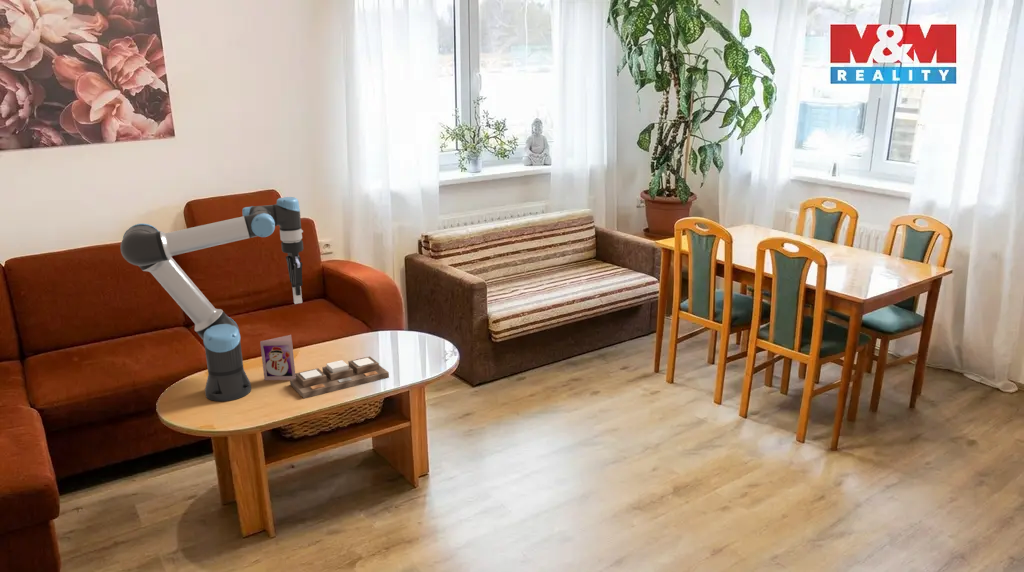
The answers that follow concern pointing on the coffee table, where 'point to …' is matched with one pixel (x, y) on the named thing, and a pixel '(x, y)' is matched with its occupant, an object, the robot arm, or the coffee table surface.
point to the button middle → (337, 366)
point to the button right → (363, 362)
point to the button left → (310, 374)
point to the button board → (338, 379)
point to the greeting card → (278, 358)
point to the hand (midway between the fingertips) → (298, 302)
